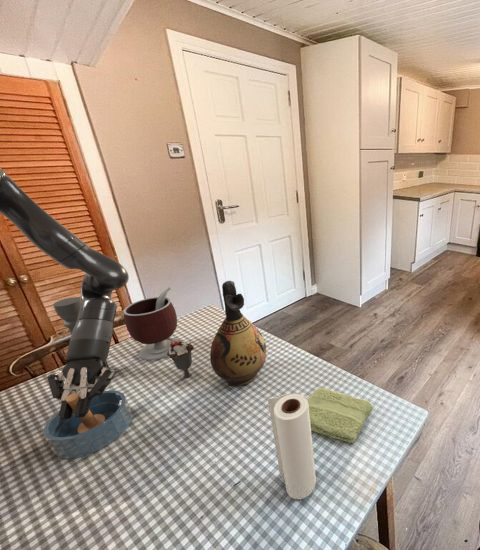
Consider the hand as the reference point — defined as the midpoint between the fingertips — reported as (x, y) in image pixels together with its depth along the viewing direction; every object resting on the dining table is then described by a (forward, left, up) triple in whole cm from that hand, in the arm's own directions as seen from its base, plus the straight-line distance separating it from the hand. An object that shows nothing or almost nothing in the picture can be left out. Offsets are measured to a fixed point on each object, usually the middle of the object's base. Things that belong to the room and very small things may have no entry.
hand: (72, 417), depth 68 cm
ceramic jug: (+32, +17, -9) cm, 38 cm away
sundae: (+16, +19, -9) cm, 27 cm away
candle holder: (-12, +28, -9) cm, 32 cm away
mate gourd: (+3, +38, -9) cm, 39 cm away
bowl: (0, +3, -9) cm, 9 cm away
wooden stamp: (0, +4, -7) cm, 8 cm away
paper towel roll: (+48, -21, -9) cm, 53 cm away
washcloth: (+57, -6, -9) cm, 58 cm away
